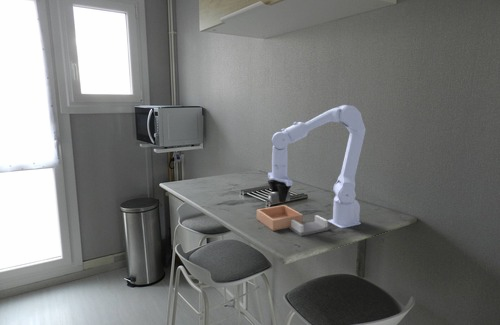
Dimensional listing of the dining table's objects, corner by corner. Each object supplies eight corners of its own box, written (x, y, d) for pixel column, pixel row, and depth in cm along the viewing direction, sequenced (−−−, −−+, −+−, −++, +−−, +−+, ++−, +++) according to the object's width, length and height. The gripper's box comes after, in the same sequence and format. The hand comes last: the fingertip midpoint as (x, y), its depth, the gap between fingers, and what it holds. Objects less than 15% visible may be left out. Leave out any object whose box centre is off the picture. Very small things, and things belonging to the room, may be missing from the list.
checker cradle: (316, 223, 125) (317, 214, 124) (328, 229, 119) (329, 220, 118) (289, 229, 120) (289, 219, 119) (300, 236, 114) (300, 226, 113)
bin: (284, 214, 135) (284, 204, 134) (302, 224, 123) (302, 214, 123) (256, 219, 129) (256, 209, 128) (272, 231, 118) (272, 220, 117)
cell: (284, 198, 128) (284, 188, 127) (290, 201, 124) (290, 191, 124) (266, 201, 125) (266, 191, 124) (272, 204, 121) (272, 194, 120)
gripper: (261, 162, 127) (260, 196, 129) (280, 169, 114) (280, 207, 116) (276, 160, 130) (276, 194, 132) (297, 167, 117) (296, 204, 120)
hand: (279, 200), depth 125 cm, fingers closed on cell, 4 cm apart
